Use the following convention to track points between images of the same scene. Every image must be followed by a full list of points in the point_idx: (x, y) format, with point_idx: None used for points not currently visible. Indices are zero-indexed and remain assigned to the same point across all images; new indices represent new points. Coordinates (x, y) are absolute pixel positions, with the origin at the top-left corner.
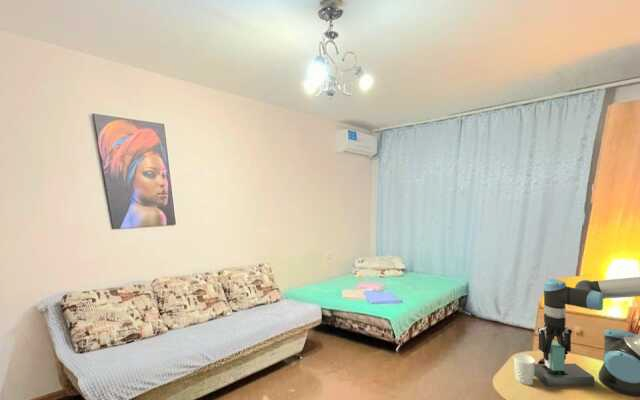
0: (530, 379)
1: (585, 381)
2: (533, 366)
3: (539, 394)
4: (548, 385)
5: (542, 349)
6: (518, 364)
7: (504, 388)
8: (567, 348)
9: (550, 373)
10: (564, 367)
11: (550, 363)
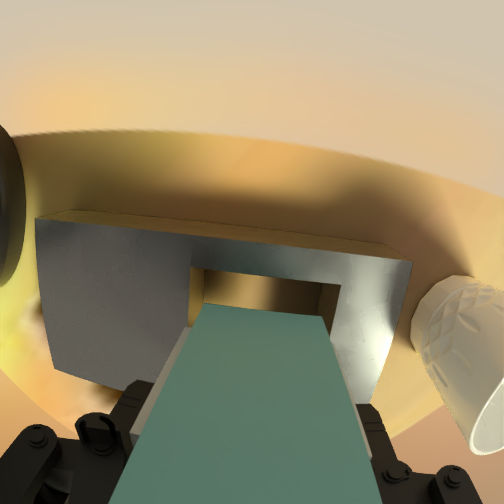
0: (474, 285)
1: (101, 217)
2: None
3: (473, 187)
4: (377, 244)
5: (475, 491)
6: None
7: None
8: (45, 473)
9: None
10: (199, 315)
11: None
